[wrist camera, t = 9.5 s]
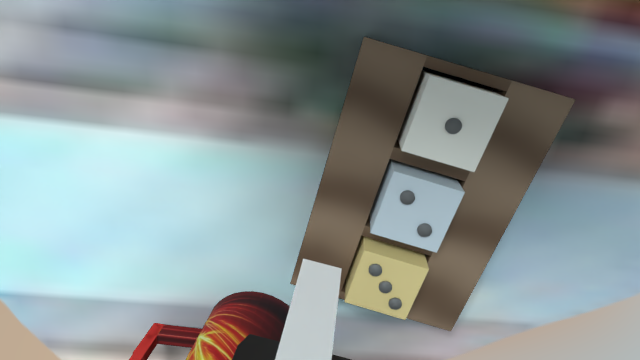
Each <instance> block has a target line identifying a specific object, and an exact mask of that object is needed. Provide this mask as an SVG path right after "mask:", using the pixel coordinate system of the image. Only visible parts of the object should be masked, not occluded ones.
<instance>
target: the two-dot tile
mask: <svg viewBox="0 0 640 360" xmlns="http://www.w3.org/2000/svg"><path fill="white" fill-rule="evenodd" d="M464 193H465V191H464V190H463V188H462V187H461V185H460V184H459V182H458V180H457V179H456V178H452V177H449V176H446V175H442V174H439V173H436V172H432V171H429V170H425V169H422V168H419V167H415V166H412V165H409V164H405V163H402V162H398V161H395V160H392V159H389V162H388V164H387V167H386V170H385V172H384V175H383V178H382V181H381V183H380V186H379V189H378V192H377V194H376V197H375V200H374V202H373V205H372V208H371V211H370V233H372V234H375V235H378V236H382V237H385V238H389V239H392V240H395V241H399V242H402V243H405V244H409V245H412V246H415V247H419V248H422V249H426V250H429V251H432V252H436V253H437V251H438V249H439V247H440V245H441V242H442V240H443V238H444V236H445V234H446V232H447V230H448V228H449V225H450V223H451V221H452V219H453V217H454V215H455V213H456V210H457V208H458V206H459V204H460V202H461V200H462V198H463V195H464Z"/></svg>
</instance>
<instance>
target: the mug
mask: <svg viewBox="0 0 640 360" xmlns="http://www.w3.org/2000/svg"><path fill="white" fill-rule="evenodd" d="M289 308H290V307H289V306H288V305H287V304H285V303H284V302H283V301H281V300H279V299H277V298H275V297H273V296H271V295H267V294H264V293H259V292H239V293H234V294H232V295H229V296H227V297H225V298H224V299H222V300H221V301H219V302H218V303H217V305H216V306H215V307H214V309H213V310H212V312H211V314H210V316H209V318H208V319H207V321H206V323H205V325H204V327H203V329H198V328H189V327H180V326H172V325H165V324H159V323H154V324H153V326H152V327H151V328H150V330H149V331H148V332H147V334H146V335H145V337H144V338H143V339H142V341H141V342H140V343H139V345H138V346H137V348H136V349H135V350H134V352H133V355H132V356H131V358H130V359H129V360H147V359H148V357H149V356H150V354H151V353H152V351H153V350H154V348H155V347H156V345H157V344H164V345H173V346H181V347H190V348H192V349H191V351H190V352H189V354H188V356H187V358H186V360H232V358H233V356H234V353H235V351H236V349H237V346H238V345H239V344H240V343H241V342H242V341H243V340H244V339H245V338H246V337H247V336H248V335H249V334H253V335H256V336H260V337H264V338H268V339H271V340H275V341H279V342H280V340H281V337H282V333H283V329H284V326H285V322H286V319H287V315H288V311H289Z"/></svg>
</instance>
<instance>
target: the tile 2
mask: <svg viewBox="0 0 640 360" xmlns="http://www.w3.org/2000/svg"><path fill="white" fill-rule="evenodd" d="M508 100H509V98H507V97H504V96H502V95H500V94H498V93H495V92H493V91H491V90H488V89H484V88H481V87H478V86H474V85H471V84H468V83H464V82H461V81H457V80H454V79H451V78H447V77H444V76H441V75H437V74H434V73H430V72H427V71H424V70H422V72H421V74H420V77H419V80H418V83H417V85H416V88H415V91H414V93H413V96H412V99H411V102H410V104H409V107H408V110H407V112H406V115H405V118H404V121H403V123H402V126H401V129H400V132H399V134H398V137H397V138H398V142H399V145H400V148H401V151H404V152H407V153H411V154H414V155H418V156H421V157H424V158H428V159H431V160H434V161H438V162H441V163H445V164H448V165H451V166H455V167H458V168H461V169H465V170H468V171H472V172H475V170H476V168H477V166H478V164H479V161H480V159H481V157H482V155H483V153H484V151H485V149H486V146H487V144H488V142H489V140H490V138H491V136H492V134H493V132H494V129H495V127H496V125H497V123H498V121H499V119H500V117H501V114H502V112H503V110H504V108H505V106H506V104H507V102H508Z"/></svg>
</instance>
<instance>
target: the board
mask: <svg viewBox="0 0 640 360" xmlns="http://www.w3.org/2000/svg"><path fill="white" fill-rule="evenodd" d="M423 67H426V68H429V69H433V70H436V71H439V72H443V73H446V74H450V75H453V76H456V77H460V78H463V79H466V80H470V81H473V82H477V83H480V84H483V85H487V86H490V87H493V88H494V89H493V92H495V93H498V94H500V95H502V96H504V97H507V98H509V100H508V102H507V104H506V106H505V108H504V110H503V112H502V114H501V117H500V119H499V121H498V123H497V125H496V127H495V129H494V132H493V134H492V136H491V138H490V140H489V142H488V144H487V146H486V149H485V151H484V153H483V155H482V157H481V159H480V161H479V164H478V166H477V168H476V170H475V172H472V171H468V170H465V169H461V168H458V167H455V166H451V165H448V164H445V163H441V162H438V161H434V160H431V159H428V158H424V157H421V156H418V155H414V154H411V153H407V152H404V151H401V148H400V145H399V142H398V140H397V137H398V134H399V132H400V129H401V126H402V123H403V121H404V118H405V115H406V112H407V110H408V107H409V104H410V102H411V99H412V96H413V93H414V91H415V88H416V85H417V83H418V80H419V77H420V74H421V72H422V69H423ZM574 102H575V99H572V98H569V97H566V96H563V95H559V94H556V93H553V92H549V91H546V90H543V89H539V88H536V87H533V86H529V85H526V84H522V83H519V82H516V81H512V80H509V79H506V78H502V77H499V76H495V75H492V74H489V73H485V72H482V71H479V70H475V69H472V68H468V67H465V66H462V65H458V64H455V63H452V62H448V61H445V60H441V59H438V58H435V57H431V56H428V55H425V54H421V53H418V52H414V51H411V50H408V49H404V48H401V47H398V46H394V45H391V44H387V43H384V42H381V41H377V40H374V39H371V38H367V37H364V38H363V41H362V44H361V48H360V51H359V54H358V58H357V61H356V64H355V68H354V71H353V75H352V78H351V81H350V85H349V88H348V91H347V95H346V98H345V101H344V105H343V108H342V112H341V115H340V118H339V122H338V125H337V128H336V132H335V135H334V138H333V142H332V145H331V148H330V152H329V155H328V159H327V162H326V165H325V169H324V172H323V175H322V179H321V182H320V185H319V189H318V192H317V196H316V199H315V202H314V206H313V209H312V212H311V216H310V219H309V222H308V226H307V229H306V232H305V236H304V239H303V243H302V246H301V249H300V253H299V256H298V259H297V263H296V266H295V269H294V273H293V276H292V280H291V283H290V284H293V285H296V283H297V279H298V276H299V272H300V268H301V265H302V261H303V259H307V260H311V261H315V262H318V263H322V264H326V265H330V266H334V267H338V268H341V269H342V270H341V279H340V288H339V297H338V298H340V299H344V300H345V288H346V276H347V273H348V271H349V268H350V265H351V262H352V260H353V257H354V254H355V252H356V249H357V246H358V243H359V241H360V238H361V235H362V236H365V237H369V238H372V239H376V240H379V241H382V242H386V243H389V244H392V245H396V246H399V247H402V248H406V249H409V250H413V251H416V252H419V253H423V254H425V257H426V261H427V264H428V268H429V271H428V273H427V275H426V277H425V279H424V281H423V283H422V285H421V288H420V290H419V292H418V294H417V296H416V298H415V300H414V303H413V305H412V307H411V309H410V311H409V313H408V315H407V317H406V318H408V319H411V320H414V321H418V322H421V323H424V324H428V325H431V326H435V327H438V328H441V329H445V330H448V331H451V330H452V328H453V326H454V325H455V323H456V321H457V319H458V317H459V315H460V313H461V312H462V310H463V308H464V306H465V304H466V302H467V300H468V299H469V297H470V295H471V293H472V291H473V289H474V287H475V286H476V284H477V282H478V280H479V278H480V276H481V274H482V273H483V271H484V269H485V267H486V265H487V263H488V261H489V260H490V258H491V256H492V254H493V252H494V250H495V248H496V247H497V245H498V243H499V241H500V239H501V237H502V235H503V234H504V232H505V230H506V228H507V226H508V224H509V222H510V221H511V219H512V217H513V215H514V213H515V211H516V209H517V208H518V206H519V204H520V202H521V200H522V198H523V196H524V195H525V193H526V191H527V189H528V187H529V185H530V183H531V182H532V180H533V178H534V176H535V174H536V172H537V170H538V169H539V167H540V165H541V163H542V161H543V159H544V157H545V156H546V154H547V152H548V150H549V148H550V146H551V144H552V143H553V141H554V139H555V137H556V135H557V133H558V131H559V130H560V128H561V126H562V124H563V122H564V120H565V118H566V117H567V115H568V113H569V111H570V109H571V107H572V105H573V104H574ZM389 159H392V160H395V161H398V162H402V163H405V164H409V165H412V166H415V167H419V168H422V169H425V170H429V171H432V172H436V173H439V174H442V175H446V176H449V177H452V178H456V179H457V180H458V182H459V184H460V185H461V187H462V188H463V190H464V191H465V193H464V195H463V198H462V200H461V202H460V204H459V206H458V208H457V210H456V213H455V215H454V217H453V219H452V221H451V223H450V225H449V228H448V230H447V232H446V234H445V236H444V238H443V240H442V242H441V245H440V247H439V249H438V251H437V253H436V252H432V251H429V250H426V249H422V248H419V247H415V246H412V245H409V244H405V243H402V242H399V241H395V240H392V239H389V238H385V237H382V236H378V235H375V234H372V233H370V211H371V208H372V205H373V202H374V200H375V197H376V194H377V192H378V189H379V186H380V183H381V181H382V178H383V175H384V172H385V170H386V167H387V164H388V162H389Z"/></svg>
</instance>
